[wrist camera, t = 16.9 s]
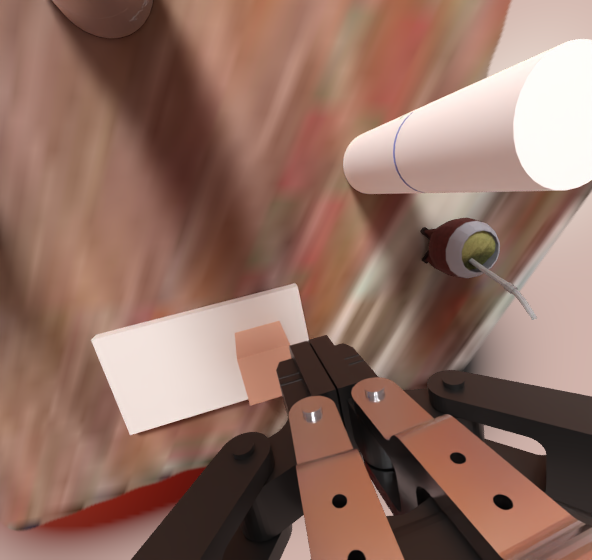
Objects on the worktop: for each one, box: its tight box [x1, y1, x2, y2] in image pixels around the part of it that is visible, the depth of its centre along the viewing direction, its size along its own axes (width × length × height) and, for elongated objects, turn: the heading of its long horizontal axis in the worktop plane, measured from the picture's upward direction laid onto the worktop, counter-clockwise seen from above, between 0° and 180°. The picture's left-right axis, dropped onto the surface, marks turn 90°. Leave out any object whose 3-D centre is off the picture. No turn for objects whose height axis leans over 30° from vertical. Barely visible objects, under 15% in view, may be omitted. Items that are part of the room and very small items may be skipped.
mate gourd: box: [421, 218, 537, 320], centre depth 39 cm, size 8×8×15 cm
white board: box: [91, 283, 309, 435], centre depth 42 cm, size 24×13×2 cm, turn 102°
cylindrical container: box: [343, 39, 592, 194], centre depth 29 cm, size 7×7×25 cm
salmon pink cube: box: [235, 321, 291, 406], centre depth 39 cm, size 6×6×7 cm
